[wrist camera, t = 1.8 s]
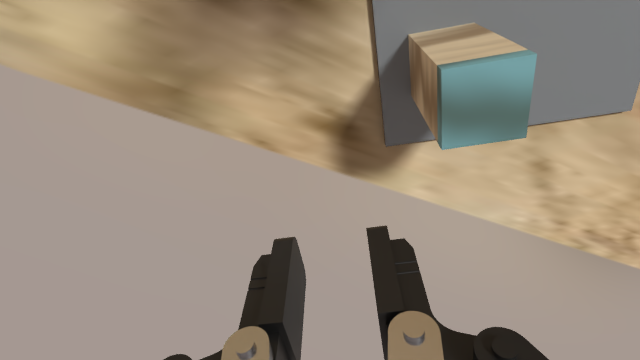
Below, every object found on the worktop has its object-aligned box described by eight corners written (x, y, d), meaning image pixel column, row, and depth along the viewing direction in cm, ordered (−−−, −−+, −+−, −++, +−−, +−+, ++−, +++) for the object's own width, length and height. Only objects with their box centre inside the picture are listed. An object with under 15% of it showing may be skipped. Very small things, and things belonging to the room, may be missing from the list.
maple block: (408, 34, 28) (441, 70, 20) (474, 22, 28) (537, 53, 19) (411, 95, 31) (441, 149, 23) (471, 85, 31) (526, 137, 22)
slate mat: (369, -25, 27) (370, -24, 26) (681, -88, 24) (688, -88, 24) (385, 144, 34) (386, 146, 34) (627, 108, 32) (631, 110, 31)
